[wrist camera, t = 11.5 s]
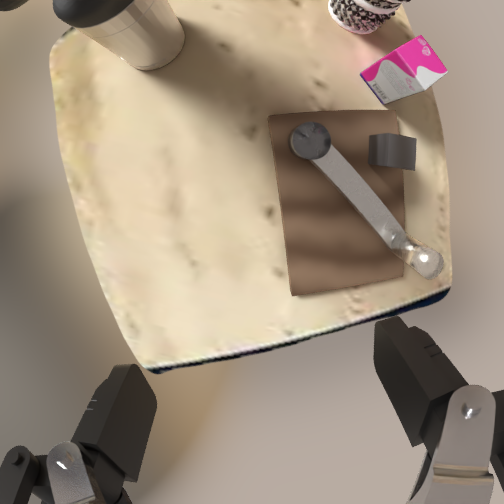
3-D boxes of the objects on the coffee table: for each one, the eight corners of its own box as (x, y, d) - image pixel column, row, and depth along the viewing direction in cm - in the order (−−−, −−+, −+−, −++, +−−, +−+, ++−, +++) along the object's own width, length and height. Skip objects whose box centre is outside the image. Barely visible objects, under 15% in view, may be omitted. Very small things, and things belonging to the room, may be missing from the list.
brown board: (267, 117, 35) (272, 107, 28) (389, 112, 35) (417, 105, 27) (290, 290, 43) (298, 317, 36) (397, 271, 43) (421, 292, 35)
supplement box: (406, 87, 33) (450, 73, 22) (382, 105, 34) (424, 92, 24) (383, 57, 32) (422, 33, 21) (357, 73, 33) (393, 50, 22)
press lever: (280, 142, 34) (294, 135, 23) (304, 118, 33) (328, 102, 22) (385, 254, 39) (425, 288, 28) (405, 233, 38) (450, 261, 27)
